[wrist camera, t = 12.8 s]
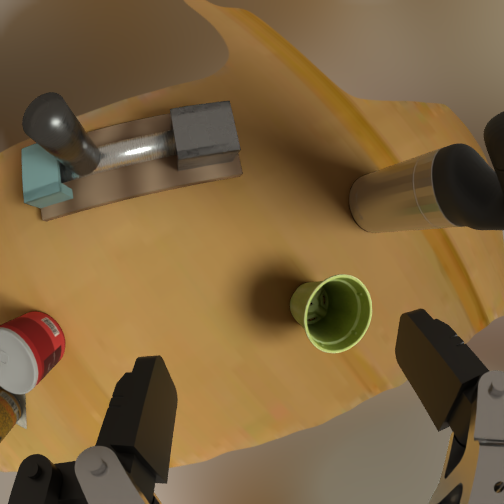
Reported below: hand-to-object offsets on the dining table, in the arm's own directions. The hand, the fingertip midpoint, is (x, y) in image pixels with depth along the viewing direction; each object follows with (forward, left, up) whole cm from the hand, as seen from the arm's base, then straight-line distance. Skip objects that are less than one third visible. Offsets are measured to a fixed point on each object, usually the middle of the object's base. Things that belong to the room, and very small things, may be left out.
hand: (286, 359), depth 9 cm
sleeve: (-3, -17, -28) cm, 33 cm away
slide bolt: (+8, -17, -28) cm, 34 cm away
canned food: (+24, +3, -30) cm, 39 cm away
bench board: (+6, -17, -30) cm, 35 cm away
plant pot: (-14, +7, -30) cm, 34 cm away
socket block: (+17, -17, -28) cm, 37 cm away
